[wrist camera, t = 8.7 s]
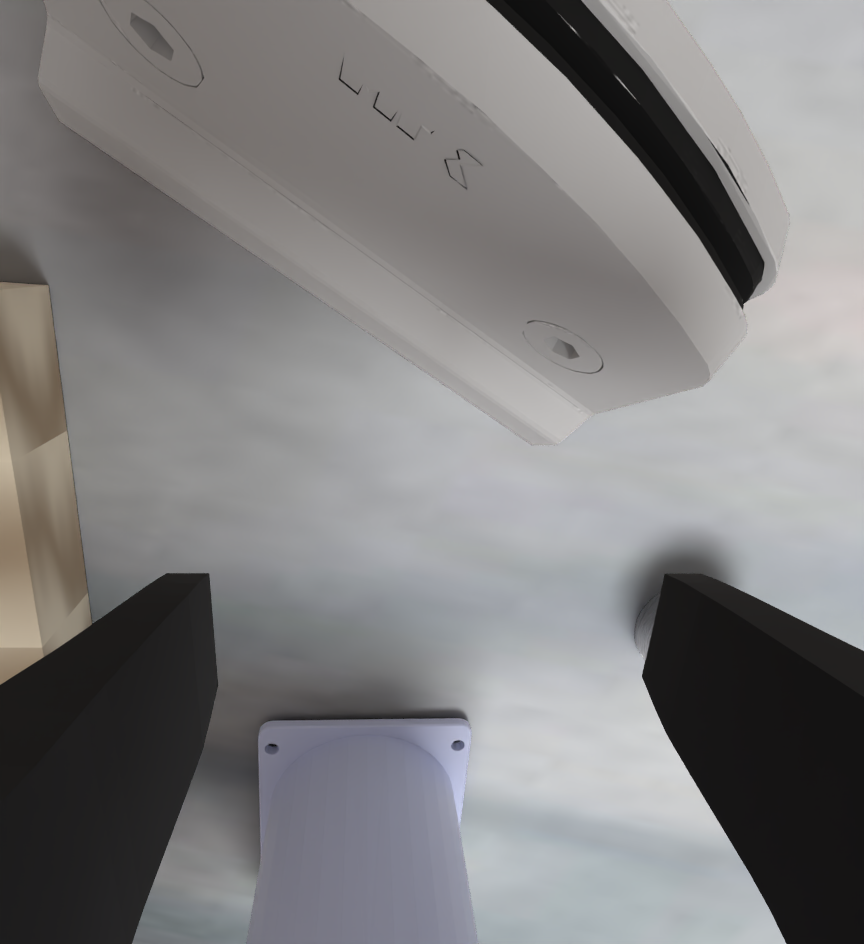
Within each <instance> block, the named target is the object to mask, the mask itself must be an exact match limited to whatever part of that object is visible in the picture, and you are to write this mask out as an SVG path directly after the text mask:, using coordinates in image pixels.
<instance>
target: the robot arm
mask: <svg viewBox="0 0 864 944" xmlns="http://www.w3.org/2000/svg"><path fill="white" fill-rule="evenodd" d="M642 678H643V680H644V683H645V685H646V688H647V690H648V692H649V695H650V697H651V700H652V702H653V705H654V707H655V709H656V712H657V714H658V716H659V718H660V720H661V723H662V725H663V727H664V729H665V732H666V734H667V735H668V737H669V739H670V741H671V742H672V744H673V746H674V748H675V749H676V751H677V753H678V754H679V756H680V758H681V760H682V761H683V763H684V765H685V766H686V768H687V770H688V771H689V773H690V775H691V777H692V778H693V780H694V782H695V783H696V785H697V787H698V788H699V790H700V792H701V793H702V795H703V797H704V798H705V800H706V802H707V803H708V805H709V806H710V808H711V810H712V811H713V813H714V815H715V816H716V818H717V820H718V821H719V823H720V825H721V826H722V828H723V830H724V831H725V833H726V835H727V836H728V838H729V840H730V841H731V843H732V845H733V846H734V848H735V850H736V851H737V853H738V855H739V856H740V858H741V860H742V861H743V863H744V865H745V866H746V868H747V870H748V871H749V873H750V875H751V876H752V878H753V880H754V882H755V884H756V885H757V887H758V889H759V891H760V893H761V894H762V896H763V898H764V900H765V902H766V904H767V905H768V907H769V909H770V911H771V913H772V915H773V917H774V919H775V921H776V923H777V925H778V927H779V929H780V931H781V933H782V935H783V937H784V939H785V942H786V944H864V651H863V650H860V649H858V648H856V647H854V646H852V645H850V644H848V643H846V642H844V641H842V640H840V639H838V638H836V637H834V636H832V635H830V634H828V633H825V632H823V631H821V630H819V629H817V628H815V627H813V626H811V625H809V624H807V623H805V622H803V621H801V620H799V619H797V618H795V617H793V616H791V615H789V614H787V613H785V612H783V611H781V610H779V609H777V608H775V607H773V606H771V605H769V604H767V603H765V602H763V601H761V600H759V599H757V598H755V597H753V596H751V595H749V594H747V593H745V592H743V591H740V590H738V589H736V588H734V587H732V586H730V585H727V584H725V583H723V582H721V581H718V580H716V579H713V578H711V577H708V576H705V575H702V574H665V576H664V580H663V585H662V589H661V594H660V598H659V602H658V607H657V611H656V616H655V620H654V625H653V629H652V634H651V638H650V642H649V647H648V651H647V656H646V660H645V665H644V669H643V674H642ZM217 687H218V679H217V666H216V654H215V641H214V629H213V616H212V603H211V591H210V578H209V573H167V574H165V575H163V576H162V577H160V578H158V579H157V580H155V581H154V582H152V583H151V584H149V585H148V586H146V587H145V588H143V589H142V590H140V591H139V592H138V593H136V594H135V595H133V596H132V597H130V598H129V599H128V600H126V601H125V602H123V603H122V604H121V605H119V606H118V607H116V608H115V609H114V610H112V611H111V612H109V613H108V614H106V615H105V616H104V617H102V618H101V619H99V620H98V621H96V622H95V623H93V624H92V625H91V626H89V627H88V628H86V629H85V630H83V631H82V632H80V633H79V634H78V635H76V636H75V637H73V638H72V639H70V640H69V641H67V642H66V643H65V644H63V645H62V646H60V647H59V648H57V649H56V650H54V651H53V652H51V653H49V654H48V655H46V656H45V657H43V658H42V659H40V660H38V661H37V662H35V663H34V664H32V665H30V666H29V667H27V668H26V669H24V670H23V671H21V672H19V673H18V674H16V675H15V676H13V677H12V678H10V679H8V680H7V681H5V682H4V683H2V684H1V685H0V944H132V941H133V938H134V935H135V932H136V929H137V926H138V923H139V920H140V917H141V914H142V912H143V909H144V906H145V903H146V901H147V898H148V895H149V893H150V890H151V887H152V885H153V882H154V879H155V877H156V874H157V871H158V869H159V866H160V863H161V861H162V858H163V855H164V853H165V850H166V847H167V845H168V842H169V839H170V837H171V834H172V831H173V829H174V826H175V823H176V821H177V818H178V815H179V813H180V810H181V807H182V805H183V802H184V799H185V797H186V794H187V791H188V788H189V786H190V783H191V780H192V778H193V775H194V772H195V769H196V767H197V764H198V761H199V758H200V755H201V753H202V750H203V746H204V742H205V738H206V734H207V730H208V726H209V722H210V718H211V714H212V709H213V705H214V700H215V696H216V692H217ZM471 736H472V732H471V727H470V724H469V722H468V721H467V720H465V719H461V718H436V719H361V720H286V721H268V722H266V723H264V724H263V725H262V726H261V727H260V731H259V735H258V762H259V806H260V849H261V861H260V867H259V873H258V878H257V884H256V890H255V896H254V902H253V907H252V913H251V919H250V925H249V930H248V936H247V942H246V944H479V943H478V937H477V931H476V925H475V919H474V913H473V907H472V901H471V895H470V889H469V883H468V877H467V871H466V865H465V859H464V853H463V847H462V841H461V835H460V823H461V815H462V807H463V799H464V791H465V783H466V775H467V768H468V760H469V752H470V744H471ZM457 740H461V741H460V742H459V743H453V742H454V741H457ZM271 743H272V744H276V745H277V746H274V747H273V746H269V745H268V744H271Z"/></svg>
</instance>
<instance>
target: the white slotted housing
mask: <svg viewBox="0 0 864 944" xmlns="http://www.w3.org/2000/svg"><path fill="white" fill-rule="evenodd" d="M43 2H44V5H45V8H46V12H47V25H46V31H45V37H44V43H43V49H42V55H41V60H40V66H39V72H38V84H39V87H40V89H41V91H42V93H43V94H44V96H45V98H46V99H47V101H48V103H49V104H50V106H51V108H52V109H53V111H54V113H55V115H56V116H57V118H58V120H59V121H60V122H61V123H63V124H64V125H66V126H67V127H68V128H70V129H71V130H73V131H74V132H76V133H77V134H79V135H80V136H82V137H83V138H85V139H86V140H87V141H89V142H90V143H92V144H93V145H95V146H96V147H98V148H99V149H101V150H102V151H103V152H105V153H106V154H108V155H109V156H111V157H112V158H114V159H115V160H117V161H118V162H120V163H121V164H122V165H124V166H125V167H127V168H128V169H130V170H131V171H133V172H134V173H136V174H137V175H138V176H140V177H141V178H143V179H144V180H146V181H147V182H149V183H150V184H152V185H153V186H155V187H156V188H157V189H159V190H160V191H162V192H163V193H165V194H166V195H168V196H169V197H171V198H172V199H173V200H175V201H176V202H178V203H179V204H181V205H182V206H184V207H185V208H187V209H188V210H190V211H191V212H192V213H194V214H195V215H197V216H198V217H200V218H201V219H203V220H204V221H206V222H207V223H208V224H210V225H211V226H213V227H214V228H216V229H217V230H219V231H220V232H222V233H223V234H225V235H226V236H227V237H229V238H230V239H232V240H233V241H235V242H236V243H238V244H239V245H241V246H242V247H243V248H245V249H246V250H248V251H249V252H251V253H252V254H254V255H255V256H257V257H258V258H260V259H261V260H262V261H264V262H265V263H267V264H268V265H270V266H271V267H273V268H274V269H276V270H277V271H278V272H280V273H281V274H283V275H284V276H286V277H287V278H289V279H290V280H292V281H293V282H295V283H296V284H297V285H299V286H300V287H302V288H303V289H305V290H306V291H308V292H309V293H311V294H312V295H313V296H315V297H316V298H318V299H319V300H321V301H322V302H324V303H325V304H327V305H328V306H330V307H331V308H332V309H334V310H335V311H337V312H338V313H340V314H341V315H343V316H344V317H346V318H347V319H348V320H350V321H351V322H353V323H354V324H356V325H357V326H359V327H360V328H362V329H363V330H365V331H366V332H367V333H369V334H370V335H372V336H373V337H375V338H376V339H378V340H379V341H381V342H382V343H383V344H385V345H386V346H388V347H389V348H391V349H392V350H394V351H395V352H397V353H398V354H400V355H401V356H402V357H404V358H405V359H407V360H408V361H410V362H411V363H413V364H414V365H416V366H417V367H418V368H420V369H421V370H423V371H424V372H426V373H427V374H429V375H430V376H432V377H433V378H435V379H436V380H437V381H439V382H440V383H442V384H443V385H445V386H446V387H448V388H449V389H451V390H452V391H453V392H455V393H456V394H458V395H459V396H461V397H462V398H464V399H465V400H467V401H468V402H470V403H471V404H472V405H474V406H475V407H477V408H478V409H480V410H481V411H483V412H484V413H486V414H487V415H488V416H490V417H491V418H493V419H494V420H496V421H497V422H499V423H500V424H502V425H503V426H505V427H506V428H507V429H509V430H510V431H512V432H513V433H515V434H516V435H518V436H519V437H521V438H522V439H523V440H525V441H526V442H528V443H529V444H531V445H557V444H559V443H560V442H562V441H563V440H564V439H565V438H566V437H568V436H569V435H570V434H571V433H572V432H573V431H575V430H576V429H577V428H578V427H579V426H580V425H581V424H583V423H584V422H585V421H586V420H587V419H589V418H590V417H591V416H593V415H595V414H598V413H602V412H606V411H610V410H613V409H617V408H621V407H625V406H629V405H633V404H637V403H641V402H644V401H648V400H652V399H656V398H660V397H664V396H668V395H672V394H675V393H679V392H683V391H687V390H691V389H695V388H699V387H703V386H704V385H705V384H706V383H707V382H709V381H710V380H711V378H712V377H713V376H714V375H715V373H716V372H717V371H718V370H719V369H720V367H721V366H722V365H723V364H724V362H725V361H726V360H727V359H728V358H729V356H730V355H731V354H732V353H733V352H734V350H735V349H736V348H737V347H738V345H739V344H740V343H741V342H742V341H743V339H744V337H745V336H746V334H747V327H748V323H747V320H746V316H745V314H744V312H743V306H744V305H743V304H744V303H745V302H747V301H748V300H750V299H752V298H755V297H757V296H759V295H762V294H764V293H765V292H766V291H767V290H768V289H770V288H771V287H772V286H773V284H774V283H775V281H776V277H777V274H778V270H779V266H780V262H781V258H782V254H783V250H784V246H785V242H786V238H787V234H788V229H789V225H790V215H789V213H788V210H787V208H786V205H785V203H784V200H783V198H782V196H781V193H780V191H779V188H778V186H777V183H776V181H775V178H774V176H773V174H772V171H771V169H770V167H769V165H768V163H767V161H766V159H765V157H764V155H763V153H762V151H761V149H760V147H759V145H758V143H757V141H756V139H755V138H754V136H753V134H752V132H751V130H750V128H749V126H748V124H747V122H746V120H745V118H744V116H743V114H742V112H741V111H740V109H739V107H738V106H737V104H736V103H735V101H734V99H733V98H732V96H731V95H730V93H729V91H728V90H727V88H726V86H725V85H724V83H723V82H722V80H721V78H720V77H719V75H718V74H717V72H716V70H715V69H714V67H713V66H712V64H711V62H710V61H709V60H708V58H707V57H706V55H705V54H704V52H703V51H702V50H701V48H700V47H699V45H698V44H697V42H696V41H695V40H694V38H693V37H692V35H691V34H690V32H689V31H688V30H687V28H686V27H685V25H684V24H683V22H682V21H681V20H680V18H679V17H678V15H677V14H676V12H675V11H674V10H673V8H672V7H671V5H670V4H669V2H668V1H667V0H43Z"/></svg>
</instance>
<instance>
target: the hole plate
mask: <svg viewBox="0 0 864 944" xmlns="http://www.w3.org/2000/svg"><path fill="white" fill-rule="evenodd" d="M91 625H92V620H91V612H90V604H89V597H88V589H87V581H86V573H85V566H84V558H83V550H82V542H81V535H80V527H79V519H78V511H77V503H76V496H75V488H74V480H73V472H72V465H71V457H70V449H69V441H68V434H67V426H66V418H65V410H64V402H63V395H62V387H61V379H60V371H59V364H58V356H57V348H56V340H55V333H54V325H53V317H52V309H51V301H50V294H49V286H48V285H37V284H24V283H10V282H0V685H1V684H2V683H4V682H5V681H7V680H8V679H10V678H12V677H13V676H15V675H16V674H18V673H19V672H21V671H23V670H24V669H26V668H27V667H29V666H30V665H32V664H34V663H35V662H37V661H38V660H40V659H42V658H43V657H45V656H46V655H48V654H49V653H51V652H53V651H54V650H56V649H57V648H59V647H60V646H62V645H63V644H65V643H66V642H67V641H69V640H70V639H72V638H73V637H75V636H76V635H78V634H79V633H80V632H82V631H83V630H85V629H86V628H88V627H89V626H91Z"/></svg>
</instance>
